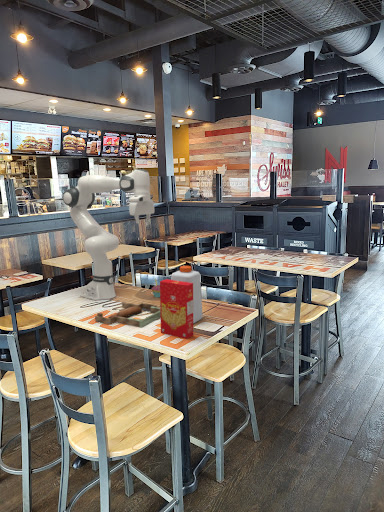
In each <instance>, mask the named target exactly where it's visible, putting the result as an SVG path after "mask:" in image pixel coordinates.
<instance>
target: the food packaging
mask: <svg viewBox="0 0 384 512" xmlns="http://www.w3.org/2000/svg"><path fill="white" fill-rule="evenodd" d="M159 285H160V297H159V299H160V300H159V303H160V307H159V308H160V314H161V317H160V333H161V334H165V335H168V336H173V337H177V338H181V339H184V340H189V339H190V338H191V337H193V336H194V324H193V283H189V282H182V281H176V280H171V279H167V278H165V279H163V280H161V281H159Z"/></svg>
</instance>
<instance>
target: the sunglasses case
mask: <svg viewBox="0 0 384 512" xmlns="http://www.w3.org/2000/svg"><path fill="white" fill-rule="evenodd" d="M142 312H143V311H142V309H141V307H139V306H135V307H130V308H127V309H125V308H123V309H122V310H118V312H115V313H114V314H112V315H110V316H108V317H107V318H112V317H114V316H119V317H124V318H128V317H131V316H133V315H137V314H138V313H142Z"/></svg>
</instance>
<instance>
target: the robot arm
mask: <svg viewBox="0 0 384 512" xmlns="http://www.w3.org/2000/svg"><path fill="white" fill-rule="evenodd" d="M150 180H151V179H150V174H149V171H148V170H146V169H143V168H142V169H141V168H135V169H133V171H132V172H130V173H127V174H126V175H122V176H121V177H120V178H115V177H111V176H107V175H103V174H102V175H101V174H87V175H83V176H80V177H79V178H78V180H77V186H74V185H73V186H71V187H70V188H68V189H66V190H65V191H64V192H63V194H62V201H63V203H64V204H65V205H66V206H69V207H72V208H71V209H70V211H69V216H70V218H71V220H72V221H73V222H74V224H75V226H76V227H77V228H78V230H79V231H80V232H81V234H82V235H83V236H85V237H86V239H85V240H84V245H83V247H84V250H85V252H86V253H87V254H88V255H89V256H90V257H91V259H92V260H91V261H92V264H93V270H94V272H93V273H94V274H93V275H91V276H90V278H91V279H92V281H90V282H89V283H88V284H87V285H85V287H84V290H83V291H84V292H82V293H80V297H82V298H85V299H89V300H92V301H101V300H110V299H113V298H115V297H116V296H117V294H116V291H115V286H114V274H113V263H112V261H111V259H109V258H108V255H107V253H108V252H109V253H110V252H112V251H114V250H116V249H118V247H119V245H120V239H119V238H118V236H117V235H115V234H113V233H111V232H109V231H108V230H107V229H105V228H103V227H102V226H101V224H99V223H98V222H97V221H96V219H94V217H93V215H91V214H90V212H89V211H88V209H90V208H91V207H92V205H93V204H94V202H95V200H96V194H101V193H107V192H110V191H115V190H117V191H118V190H121V191H122V192H125V193H134V194H133V195H132V196H130V197H129V198H128V202H129V205H128V206H129V207H128V208H129V209H128V210H129V215H130V216H133V218H134V219H135V223H136V224H141V220H140V216H142V215H146V218H144V219H145V222H146V223H150V218H151V215H154V214H155V204H154V200H153V199H152V198H151V191H150V187H151V184H150Z"/></svg>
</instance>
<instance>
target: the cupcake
mask: <svg viewBox="0 0 384 512" xmlns="http://www.w3.org/2000/svg"><path fill="white" fill-rule="evenodd" d="M154 282H155V285H153V286H152V287H151V289H150V290H151V292H152V293H153V296H154V298H160V284H157V283H158V282H157V278H156V277H154Z"/></svg>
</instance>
